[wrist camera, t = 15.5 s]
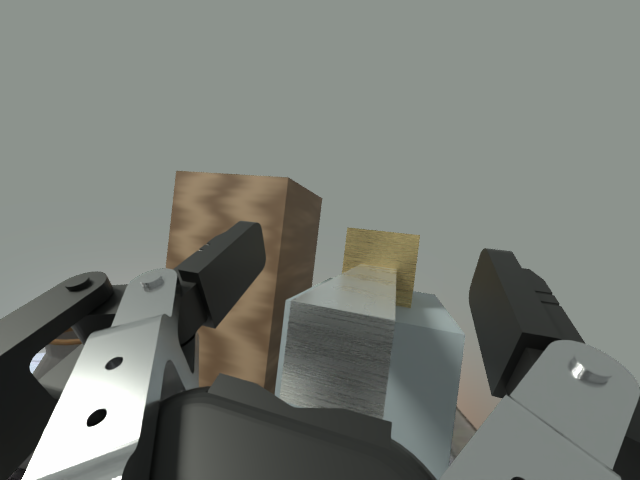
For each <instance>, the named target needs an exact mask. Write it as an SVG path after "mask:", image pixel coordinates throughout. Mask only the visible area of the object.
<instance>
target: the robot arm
mask: <svg viewBox="0 0 640 480" xmlns="http://www.w3.org/2000/svg"><path fill="white" fill-rule="evenodd" d="M265 263H266V253H265V246H264V240H263V233H262V228H261V225H260V224H259V223H257V222H249V221H239V222H237V223H236V224H235V225H234V226H232V227H231V228H230V229H229V230H227V231H226V232H224V233H222V234H219V235H217V236H215V237H214V238H213V239H211V240H210V241H209V242H207V244H206V245H204V246H202V247H201V248H200V249H199V251H198V250H197V251H196V252H195V253H193V254H192V255H191V256H189V257H188V258H187V259H186V260H184V261H183V262H182V263H180V264H179V265H178V266H177V267H175V268H174V269H173V270H172V269H168V268H162V269H155V270H151V271H148V272H145V273H143V274H141V275H139V276H137V277H136V278H134V279H133V280H132V281H131V282H130V283H129V284H126V285H111V283H110V281H109V279H108V277H107V276H106V274H105V273H103V272H88V273H83V274H80V275H77V276H74V277H72V278H69V279H67V280H65V281H63V282H62V283H60V284H58V285H57V286H55V287H53V288H52V289H50V290H48V291H47V292H45V293H43V294H42V295H40V296H38V297H37V298H35V299H34V300H32V301H30V302H28V303H27V304H25V305H24V306H22V307H20V308H19V309H17V310H15V311H13V312H12V313H10V314H9V315H7V316H5V317H4V318H2V319H0V480H6V479H7V478H8V477H9V476H10V475H11V474H12V473H13V472H14V471H15V470H16V469H17V468H18V467H19V466H20V465H21V464H22V463H23V462H24V461H25V460H26V459H27V458H28V457H29V456H30V455H31V454H32V453H33V452H34V450H35V449H36V448H37V449H36V451H35V453H34V455H33V457H32V460H31V462H30V464H29V466H28V468H27V470H26V473H25V475H24V477H23V479H22V480H437V479H436V478H435V476H434V475H433V474H432V473H431V472H430V471H429V470H428V468H427V467H426V466H425V465H424V464H423V463H422V462H421V461H420V460H419V459H418V458H417V457H416V456H415V455H414V454H413V453H411V452H410V451H409V450H408V449H406V448H405V447H404V446H402V445H401V444H400V443H398V442H396V441H395V440H393V439H391V429H392V422H390V421H386V420H383V419H379V418H376V417H372V416H369V415H365V414H362V413H358V412H355V411H351V410H348V409H344V408H297V407H293V406H291V405H289V404H287V403H286V402H284V401H283V400H281V399H280V398H278V397H277V396H275V395H274V394H272V393H271V392H269V391H267V390H266V389H264V388H263V387H261V386H260V385H258V384H257V383H253V382H250V381H246V380H243V379H239V378H236V377H232V376H229V375H225V374H222V373H219V375H218V376H217V378H216V379H215V381H214V382H213V384H212V385H211V386H206V387H199V334H198V331H197V330H198V329H199V328H200V327H201V326H206V327H210V328H214V329H216V327H217V326H218V325H219V324H220V323H221V321H222V320H223V319H224V318H225V316H226V315H227V314H228V313H229V311H230V310H231V309H232V308H233V306H234V305H235V304H236V303H237V301H238V300H239V299H240V298H241V296H242V295H243V294H244V293H245V292H246V290H247V289H248V288H249V287H250V285H251V284H252V283H253V282H254V280H255V279H256V278H257V277H258V275H259V274H260V273H261V272H262V270H263V269H264V266H265ZM469 304H470V308H471V313H472V317H473V321H474V325H475V329H476V333H477V338H478V342H479V346H480V350H481V354H482V358H483V362H484V366H485V370H486V374H487V378H488V382H489V386H490V390H491V395H492V396H495V397H499V398H503V399H502V400H501V401H500V403H499V404H498V405H497V406H496V407H495V409H494V410H493V411H492V413H491V414H490V415H489V416H488V418H487V419H486V420H485V422H484V423H483V424H482V425H481V427H480V428H479V429H478V430H477V432H476V433H475V434H474V435H473V437H472V438H471V439H470V441H469V442H468V443H467V444H466V446H465V447H464V448H463V449H462V451H461V452H460V453H459V455H458V456H457V457H456V458H455V460H454V461H453V462H452V463H451V465H450V466H449V467H448V468H447V470H446V471H445V472H444V474H443V475H442V476H441V477H440V479H439V480H640V387H639V385H638V383H637V381H636V379H635V378H634V376H633V375H632V374H631V373H630V372H629V371H628V370H627V369H626V368H625V367H624V366H623V365H622V364H621V363H619V362H618V361H617V360H615V359H614V358H612V357H611V356H609V355H608V354H606V353H604V352H602V351H601V350H599V349H596V348H594V347H592V346H589V345H586V344H585V342H584V341H583V339H582V338H581V336H580V335H579V333H578V331H577V330H576V328H575V327H574V326H573V324H572V322H571V321H570V319H569V318H568V316H567V315H566V313H565V312H564V310H563V309H562V307H561V306H559V302H558V301H557V299H556V298H555V296H553V295H552V292H551V290H550V289H549V287H548V285H547V284H546V282H545V281H544V280H543V279H542V278H540V277H539V276H538V275H536V274H535V273H534V272H532V271H531V270H530V269H523V268H521V266H520V264H519V263H518V261H517V259H516V257H515V256H514V254H513V252H511V251H504V250H495V249H486V248H485V249H483V250H482V252H481V254H480V257H479V260H478V264H477V267H476V270H475V273H474V276H473V279H472V283H471V286H470V291H469ZM70 327H71V328H72V329H73V331H74V332H75V334H76V335H77V337H78V338H79V340H80V341H81V342H82V344H81V345H80V346H78V347H77V348H76V349H75V350H74V351H72V352H71V353H70V354H69V355H68V356H66V357H65V358H64V359H63V360H62V361H60V362H59V363H58V364H57V365H56V366H55V367H53V368H52V369H51V370H50V371H49V372H47V373H46V374H45V375H44V376H43V377H41V378H40V379H39V380H37V379H36V378H35V377H34V376H33V374H32V373H31V372H30V368H29V366H30V363H31V360H32V358H33V357H34V356H35V355H36V354H37V353H38V352H39V351H40V350H41V349H43V348H44V347H45V346H47V345H48V344H49V343H51V342H52V341H53V340H55V339H56V338H57V337H59V336H60V335H61V334H63V333H64V332H65V331H66V330H68V329H69V328H70Z"/></svg>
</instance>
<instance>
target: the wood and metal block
mask: <svg viewBox="0 0 640 480" xmlns="http://www.w3.org/2000/svg"><path fill="white" fill-rule="evenodd" d="M419 239H420V235H412V234H402V233H394V232H384V231H374V230H365V229H355V228H348V229H347V236H346V245H345V253H344V261H343V270H342V274H341V275H339V276H337V277H335V278H333V279H331V280H329V281H327V282H325V283H323V284H321V285H320V286H318V287H316V288H314V289H312V290H310V291H308V292H306V293H304V294H302V295H301V296H299V297H297V298H295V299H293V300H291V304H290V313H289V321H288V330H287V338H286V347H285V355H284V364H283V372H282V381H281V390H280V399H281V400H283V401H284V402H287V403H291V404H294V405H297V406H301V407H304V408H344V409H348V410H351V411H355V412H358V413H362V414H365V415H369V416H372V417H376V418H379V419H383V415H384V407H385V399H386V390H387V382H388V374H389V366H390V358H391V350H392V342H393V334H394V326H395V305H396V306H402V307H407V308H411V303H412V295H413V287H414V278H415V270H416V263H417V254H418V247H419Z"/></svg>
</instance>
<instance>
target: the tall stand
mask: <svg viewBox="0 0 640 480" xmlns="http://www.w3.org/2000/svg"><path fill="white" fill-rule="evenodd" d="M321 203H322V198H321V197H319V196H317V195H316V194H314V193H312V192H311V191H309V190H307V189H306V188H304V187H302V186H301V185H299V184H298V183H296V182H295V181H293V180H292V179H290V178H287V177H270V176H254V175H238V174H221V173H204V172H187V171H176V179H175V188H174V197H173V206H172V215H171V224H170V233H169V242H168V252H167V260H166V268H168V269H172V270H173V269H174V268H175V267H177V266H178V265H179V264H180V263H182V262H183V261H184V260H186V259H187V258H188V257H189V256H191V255H192V254H193V253H195V252H196V251H197V250H198V251H199V249H200V248H201V247H202V246H204V245H206V244H207V242H209V241H210V240H211V239H213V238H214V237H215V236H217V235H219V234H222V233H224V232H226V231H227V230H229V229H230V228H231V227H232V226H234V225H235V224H236V223H237V222H239V221H249V222H257V223H259V224H260V225H261V228H262V233H263V240H264V246H265V253H266V263H265V266H264V269H263V270H262V272H261V273H260V274H259V275H258V277H257V278H256V279H255V280H254V282H253V283H252V284H251V285H250V287H249V288H248V289H247V290H246V292H245V293H244V294H243V295H242V296H241V298H240V299H239V300H238V301H237V303H236V304H235V305H234V306H233V308H232V309H231V310H230V311H229V313H228V314H227V315H226V316H225V318H224V319H223V320H222V321H221V323H220V324H219V325H218V326H217V327H216V329H214V328H210V327H206V326H201V327H200V328H199V329H198V330H197V331H198V334H199V387H206V386H211V385H212V384H213V382H214V381H215V379H216V378H217V376H218V375H219V373H222V374H225V375H229V376H232V377H236V378H239V379H243V380H246V381H250V382H253V383H257V384H258V385H260V386H261V387H263V388H264V389H266V390H267V391H269V392H271V393H272V394H274V395H275V387H276V379H277V370H278V361H279V353H280V344H281V336H282V327H283V319H284V310H285V302H286V300H287V299H289V298H291V297H293V296H295V295H297V294H299V293H301V292H303V291H305V290H307V289H309V288H311V287H312V280H313V271H314V262H315V254H316V246H317V236H318V228H319V220H320V212H321Z"/></svg>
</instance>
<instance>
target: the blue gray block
mask: <svg viewBox="0 0 640 480" xmlns="http://www.w3.org/2000/svg"><path fill="white" fill-rule="evenodd" d="M331 279H333V278H329V279H327V280H325V281H323V282H321V283H320V284H317V285H315V286H313V287H311V288H309V289H307V290H305V291H303V292H301V293H299V294H297V295H295V296H293V297H291V298H289V299H287V300H286V302H285V310H284V319H283V327H282V336H281V344H280V353H279V361H278V370H277V379H276V387H275V396H277V397H278V398H280V390H281V381H282V372H283V364H284V355H285V347H286V338H287V330H288V321H289V313H290V304H291V300H293V299H295V298H297V297H299V296H301V295H302V294H304V293H306V292H308V291H310V290H312V289H314V288H316V287H318V286H320V285H321V284H323V283H325V282H327V281H329V280H331ZM464 340H465V334H464V333H463V331H462V330H461V329H460V327H459V326H458V325H457V323H456V322H455V321H454V319H453V318H452V317H451V315H450V314H449V313H448V312H447V310H446V309H445V308H444V306H443V305H442V304H441V302H440V301H439V300H438V298H437V297H436V296H435V295H433V294H427V293H421V292H414V291H413V295H412V303H411V308H407V307H402V306H396V305H395V326H394V334H393V342H392V350H391V358H390V366H389V374H388V382H387V390H386V399H385V407H384V415H383V420H386V421H390V422H392V429H391V439H393V440H395V441H396V442H398V443H400V444H401V445H402V446H404V447H405V448H406V449H408V450H409V451H410V452H411V453H413V454H414V455H415V456H416V457H417V458H418V459H419V460H420V461H421V462H422V463H423V464H424V465H425V466H426V467H427V468H428V470H429V471H430V472H431V473H432V474H433V475H434V476H435V478H436V479H437V480H439V479H440V477H441V476H442V475H443V474H444V472H445V471H446V470H447V468H448V467H449V459H450V451H451V443H452V436H453V428H454V420H455V412H456V404H457V396H458V388H459V381H460V372H461V365H462V357H463V349H464ZM286 403H287V402H286ZM287 404H289V405H291V406H293V407H297V408H304V407H301V406H297V405H294V404H291V403H287Z"/></svg>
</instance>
